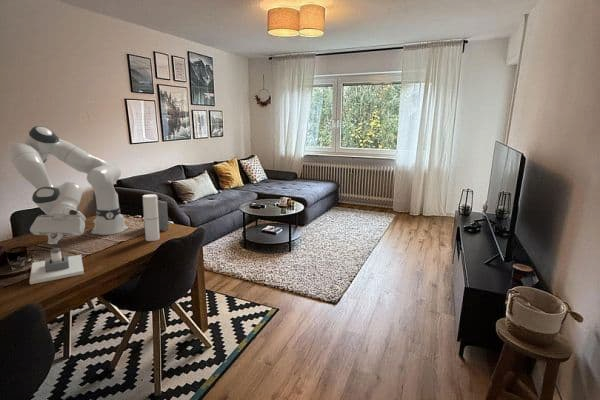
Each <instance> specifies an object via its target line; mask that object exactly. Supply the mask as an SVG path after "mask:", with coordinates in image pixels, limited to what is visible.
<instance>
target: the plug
mask: <svg viewBox="0 0 600 400" xmlns="http://www.w3.org/2000/svg"><path fill="white" fill-rule="evenodd" d="M61 256H62V251H61V248H60V247H54V248H51V249H50V258H51V259H52V263H56V262H62V257H61Z"/></svg>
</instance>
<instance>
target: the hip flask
mask: <svg viewBox="0 0 600 400" xmlns="http://www.w3.org/2000/svg"><path fill="white" fill-rule="evenodd" d="M157 203H158V219H159V231H161V232H167V231H169V218H168V216H169V215H168V214H169V213H168V201H163V200H159V197H158V196H157ZM142 211H143V213H142V214H143V215H144V208H143V207H142ZM143 225H144V229H145V222H144V221H143Z"/></svg>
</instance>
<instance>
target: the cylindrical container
mask: <svg viewBox="0 0 600 400" xmlns="http://www.w3.org/2000/svg"><path fill="white" fill-rule="evenodd" d="M157 197H158V195H157V194H154V193H153V194H152V193H151V194H150V193H149V194H144V195H142V209H143V208H144V214H143V223H144V222H145V228H144V233H145V234H144V235H145V241H147V242H156V241H158V240H160V230H159V219H158V203H157Z"/></svg>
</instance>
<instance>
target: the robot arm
mask: <svg viewBox="0 0 600 400" xmlns="http://www.w3.org/2000/svg"><path fill="white" fill-rule="evenodd" d="M50 155H51V156H54V157H55V158H56V159H58V160H59V161H61V162H63V164H65V165H67V166H68V167H71V168H72V169H74V170H76V171H77V172H79V173H84V174H86V181H87V182H88V184H89V185H90V186H91V188H92V190H93V192H94V196H95V202H96V209H95V210H96V211H95V213H96V217H95V218H94V219H93V222H92V223H93V225H94V226H93V228H92V230H91V235H100V236H105V235H106V236H108V235H116V234H120V233H123V231H125V230H129V227H128V226H127V225H126V224H125V217H124V215H123V214H121V207H120V203H119V194H118V192H117V191H116V189H115V187H114V183H115V182H116V181H118V180H119V178H120V177H121V174H122V173H121V168H120V167H119V166H117V165H116V164H114V163H113V164H112V163H110V162H107V161H106V160H103V159H101V158H98V157H97V156H95V155H92V154H90V153H89V152H87V151H85V150H83V149H82V148H80V147H78V146H77V145H75V144H73V143H71V142H70V141H67V140H64V139H62V138H59V136H58V135H57V134H56V133H55V132H54V131H52V129H50V128H48V127H46V126H42V125H37V126H36V125H35V126H33V127H32V128H31V129H30V130H29V131H28V135H27V136H26V138H25V141H17V142H16V143H13V144H11V146H10V147H9V157H10V161H11V162H12V165H13V166H14V168H15V170H16V171H17V172H18V173H19V174H20V175H21V176H22V177H23V178H24V179H25V180H26V181H28V182H29V183H30V184H31V185H32V186H33V187H34V188H35V189H36V190H35V191H34V192H33V194H32V196H31V200H32V202H34V204H36V206H37V207H38V208H39V209H40V210H41V211H43V213H44V214H41V215H38V216H37V217H36V218H35V220H34V221H33V223H32V224H31V226H30V227H29V231H30V233H31V234H33V235H34V236H47V238H48V240H47V244H48V245H57V244H58V242H59V241H60V240H61V239H62V238H64V236H82V234H84V231H85V229H86V223H85V222H86V220H87V217H86V216H85V215H84V214H83V213H82V212H81V211H78V206H79V205H80V203H81V200H82V196H83V190H82V189H83V188H81V186H79V185H78V184H76V183H74V182H70V181H68V182H64V183H62V184H60V185H53V183H52V181H51V179H50V176H49V173H48V171H47V168H46V165H45V163H46V162H47V160H48V157H49V156H50ZM55 236H56V237H55ZM53 237H54V238H53Z"/></svg>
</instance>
